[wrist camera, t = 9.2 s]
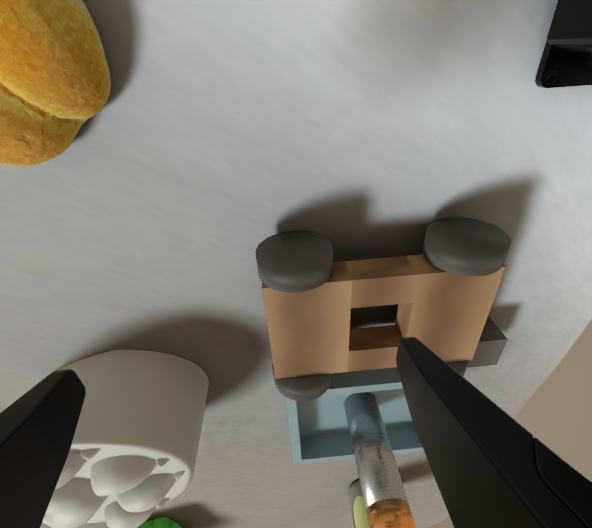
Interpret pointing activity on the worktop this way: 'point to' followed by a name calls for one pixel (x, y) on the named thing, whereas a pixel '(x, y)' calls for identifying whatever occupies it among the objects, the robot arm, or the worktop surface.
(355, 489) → the grey and yellow cylinder
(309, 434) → the tray
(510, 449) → the robot arm
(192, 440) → the lumpy-topped squat cylinder
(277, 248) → the dolly
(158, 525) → the fruit basket
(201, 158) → the worktop surface
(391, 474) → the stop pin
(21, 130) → the bread roll
